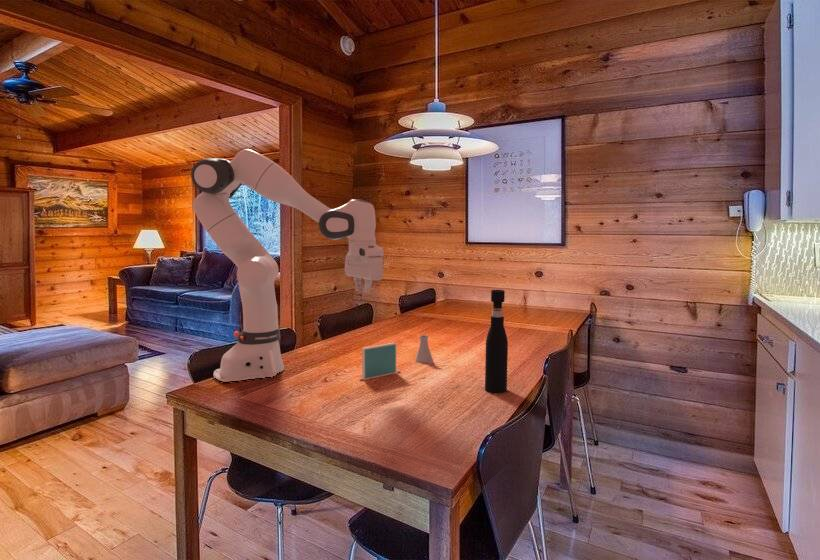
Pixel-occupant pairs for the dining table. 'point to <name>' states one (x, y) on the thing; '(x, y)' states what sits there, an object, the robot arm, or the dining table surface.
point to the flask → (424, 351)
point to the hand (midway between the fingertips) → (362, 291)
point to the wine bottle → (496, 348)
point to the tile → (378, 360)
